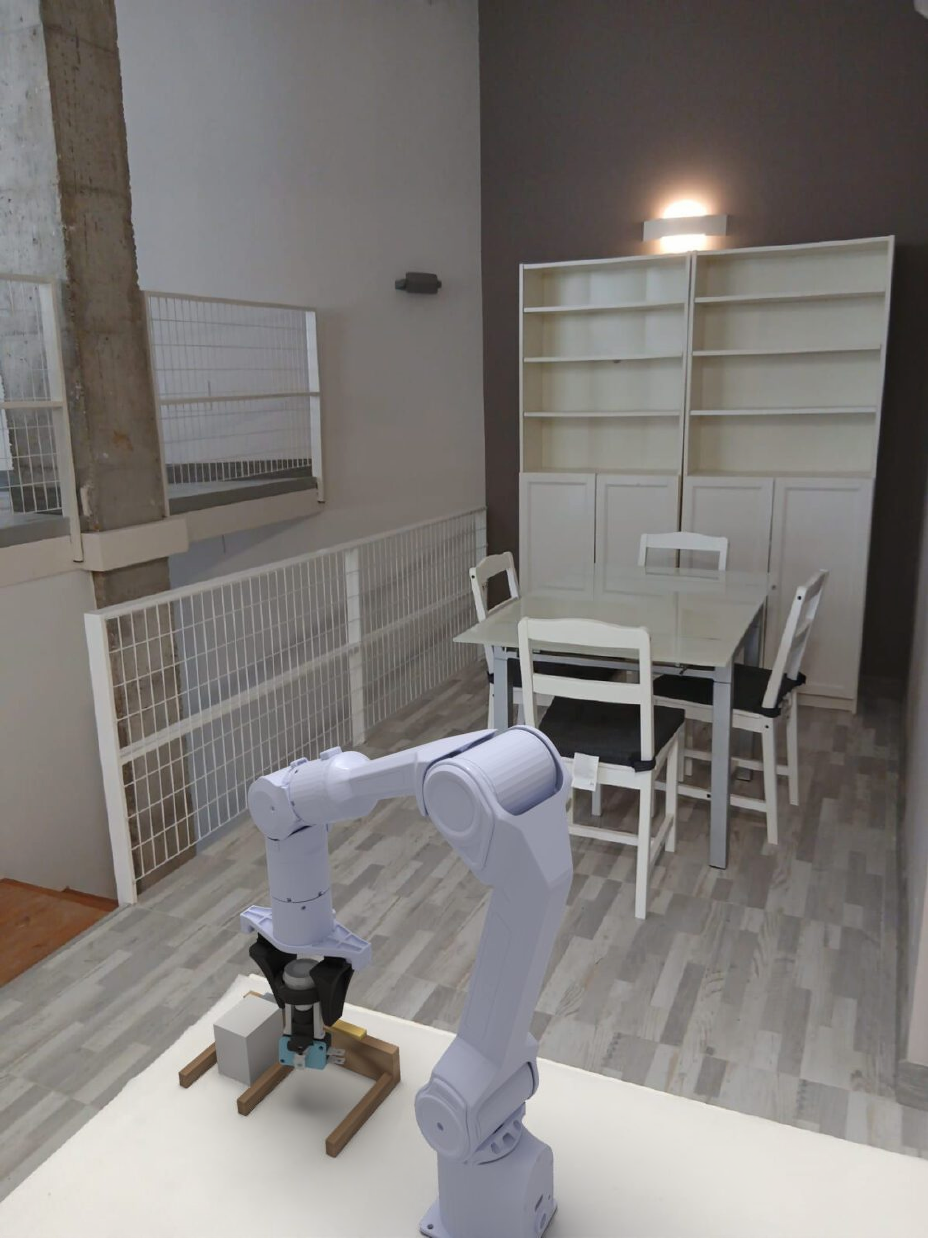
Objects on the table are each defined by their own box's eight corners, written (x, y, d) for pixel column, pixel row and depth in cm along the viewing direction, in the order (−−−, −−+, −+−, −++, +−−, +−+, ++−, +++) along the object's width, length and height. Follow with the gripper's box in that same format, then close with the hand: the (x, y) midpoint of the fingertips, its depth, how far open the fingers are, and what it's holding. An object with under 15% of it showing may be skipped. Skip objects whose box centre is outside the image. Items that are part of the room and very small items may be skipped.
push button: (352, 1050, 92) (351, 958, 91) (334, 1085, 87) (333, 988, 85) (289, 1041, 94) (287, 950, 92) (268, 1075, 88) (266, 980, 87)
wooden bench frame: (400, 1080, 95) (398, 1042, 94) (334, 1158, 86) (331, 1116, 85) (253, 1021, 105) (250, 985, 104) (179, 1085, 96) (175, 1047, 94)
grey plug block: (285, 1054, 100) (281, 1006, 98) (250, 1087, 95) (245, 1037, 94) (254, 1041, 102) (249, 993, 100) (218, 1073, 97) (213, 1023, 96)
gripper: (387, 885, 87) (394, 1009, 90) (269, 851, 94) (279, 968, 97) (342, 922, 81) (351, 1054, 84) (220, 884, 88) (233, 1007, 91)
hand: (310, 1011), depth 90 cm, fingers closed on push button, 5 cm apart
